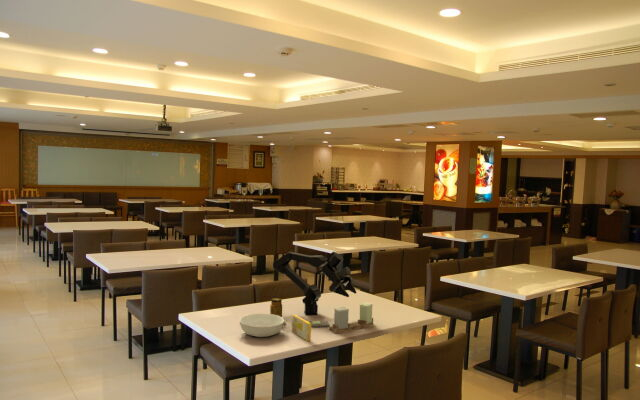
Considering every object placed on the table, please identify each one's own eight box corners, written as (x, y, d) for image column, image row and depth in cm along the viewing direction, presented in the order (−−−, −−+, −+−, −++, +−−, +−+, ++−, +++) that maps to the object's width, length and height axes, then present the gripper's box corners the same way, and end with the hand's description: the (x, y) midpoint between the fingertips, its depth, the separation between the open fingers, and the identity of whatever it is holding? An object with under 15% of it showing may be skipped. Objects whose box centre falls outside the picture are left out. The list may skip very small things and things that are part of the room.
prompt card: (309, 327, 240) (310, 324, 240) (307, 323, 247) (307, 320, 247) (329, 327, 242) (329, 323, 242) (327, 322, 249) (327, 319, 249)
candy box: (311, 341, 221) (311, 323, 221) (307, 341, 220) (307, 323, 220) (295, 330, 235) (295, 313, 235) (291, 331, 234) (291, 314, 234)
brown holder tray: (338, 334, 230) (338, 327, 230) (327, 329, 237) (327, 322, 237) (376, 325, 245) (376, 318, 245) (364, 321, 252) (365, 314, 252)
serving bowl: (250, 344, 215) (250, 329, 215) (232, 331, 233) (232, 316, 233) (291, 336, 226) (292, 322, 226) (271, 324, 244) (271, 311, 244)
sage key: (359, 322, 244) (359, 304, 243) (364, 320, 248) (365, 302, 248) (366, 324, 241) (367, 306, 241) (372, 321, 246) (372, 303, 246)
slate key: (333, 327, 236) (334, 308, 236) (343, 325, 239) (344, 307, 238) (338, 329, 232) (338, 310, 232) (348, 327, 235) (348, 309, 235)
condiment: (270, 320, 251) (270, 297, 251) (286, 320, 251) (287, 297, 251) (268, 324, 244) (269, 300, 244) (285, 324, 244) (285, 301, 244)
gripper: (332, 265, 247) (354, 287, 242) (347, 260, 263) (368, 280, 258) (320, 281, 251) (341, 302, 245) (336, 275, 267) (356, 295, 262)
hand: (352, 294), depth 253 cm, fingers open, 9 cm apart
